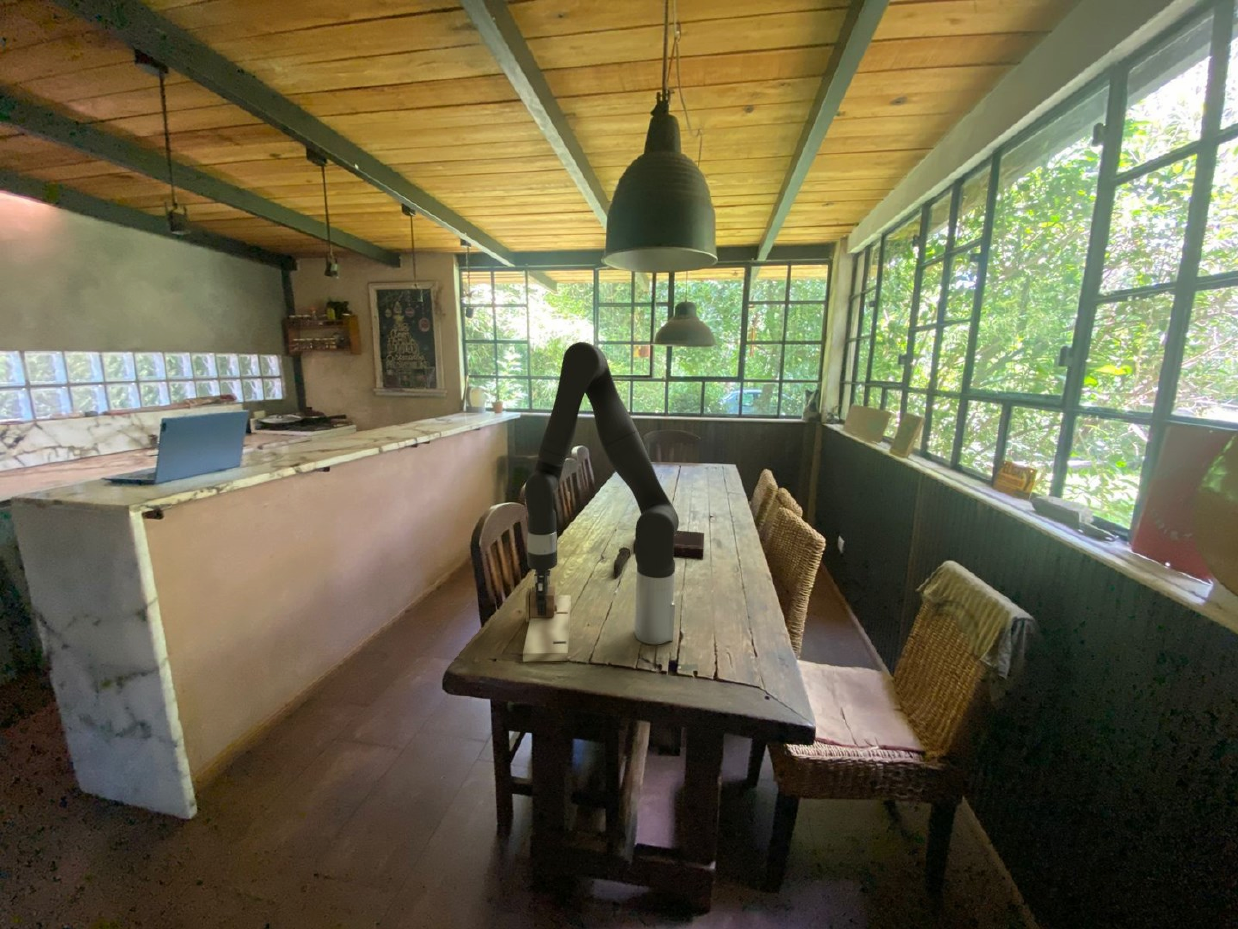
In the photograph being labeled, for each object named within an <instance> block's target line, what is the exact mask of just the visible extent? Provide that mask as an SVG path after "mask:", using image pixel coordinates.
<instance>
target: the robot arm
mask: <svg viewBox="0 0 1238 929" xmlns="http://www.w3.org/2000/svg"><path fill="white" fill-rule="evenodd" d="M614 381H615V380H614V378H613V376H612V373H611V370H610V365H609V363H608V359H607V358H606V355H605V354H604V352H603V351H602V350H601V349H600V348H599V347H597V346H596V345H593V344H591V343H589V342H585V341H579V342H575V343H573V344H571V345H570V346H569V347H568V348H567V349H566V351H565V352H564V355H563V358H562V364H561V369H560V374H559V381H558V386H557V390H556V394H555V399H554V402H553V406H552V409H551V414H550V416H549V419H548V423H547V426H546V428H545V431H544V433H543V437H542V440H541V442H540V445H539V449H538V453H537V454H538V455H537V456H538V458H537V462H536V464H535V467H534V470H533V472H532V474H530V476H529V477H528V478H527V480H526V481H525V485H524V499H525V505H526V511H527V530H528V531H527V542H526V544H527V545H526V548H527V550H526V551H527V552H526V554H527V566H528V568H529V569H532V570H535V571H534V575H533V577H534V578H533V581H534V587H535V592H536V603H537V614H538V615H539V616H545V615H546V602H547V593H548V591H549V587H550V584H551V576H552V575H551V574H552V571H551V569H554V568H555V567H557V565H558V535H557V514H556V511H555V509H554V493H555V492H556V491H557V488H558V486H559V483H560V480H561V477H562V472H563V469H564V464H565V463H566V460H567V458H568V456H569V452H570V449H571V447H572V444H573V442H574V439H575V434H576V430H577V423H578V417H579V411H580V408H581V405H582V401H583V398H584V396H586V397H587V399H588V401H589V403H590V405H591V408H592V413H593V418H594V420H595V421H594V422H595V425H596V426H595V427H596V431H597V435H598V438H599V441H600V445H601V446H602V449H603V451H604V453H605V455H606V457H607V459H608V460H607V461H608V462H609V463H610V465H611V466H612V468H613V470H614V471H615V472H616V474H618V476H619V477H620V478H621V479H622V481H623V482H624V483H625V484H626V485H627V487H628V488H629V489H630V491H631V493H632V494H633V497H634V499H635V501H636V503H637V506H638V508H639V511H640V515H639V517H638V519H637V521H636V524H635V525H636V526H635V535H634V536H635V537H634V541H635V553H634V554H635V556H634V558H635V561H636V585H635V586H636V588H635V616H634V617H635V618H634V636H635V638H636V639H637V640H639V641H640V642H641V643H644V644H647V645H662V644H665V643H667V642H670V641H671V642H672V641H674V636H675V635H674V634H675V618H676V616H675V615H676V604H675V601H674V598H675V597H674V595H675V594H674V593H675V592H674V591H675V572H676V571H675V570H676V561H675V558H674V535H675V534H676V532H677V531H679V530H678V529H679V526H680V524H679V523H680V521H679V520H680V519H679V516H678V513H677V511H676V509H675V507H674V506H673V504H672V502H671V501H670V499H669V497H668V496H667V494H666V492H665V490H664V489H663V487H662V485H661V482H660V480H659V478H658V476H657V474H656V471H655V468H654V466H653V462H652V461H651V458H650V457H649V454H648V452H647V449H646V446H645V444H644V441H643V440H642V438H641V435H640V433H639V431H638V429H637V427H636V425H635V423H634V421H633V419H632V417H631V415H630V412H629V411H628V409H627V407H626V405H625V403H624V402H623V400H622V399H621V396H620V394H619V392H618V390H617V387H616V384H615V382H614ZM546 587H547V588H546ZM539 596H543V597H539Z"/></svg>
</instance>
